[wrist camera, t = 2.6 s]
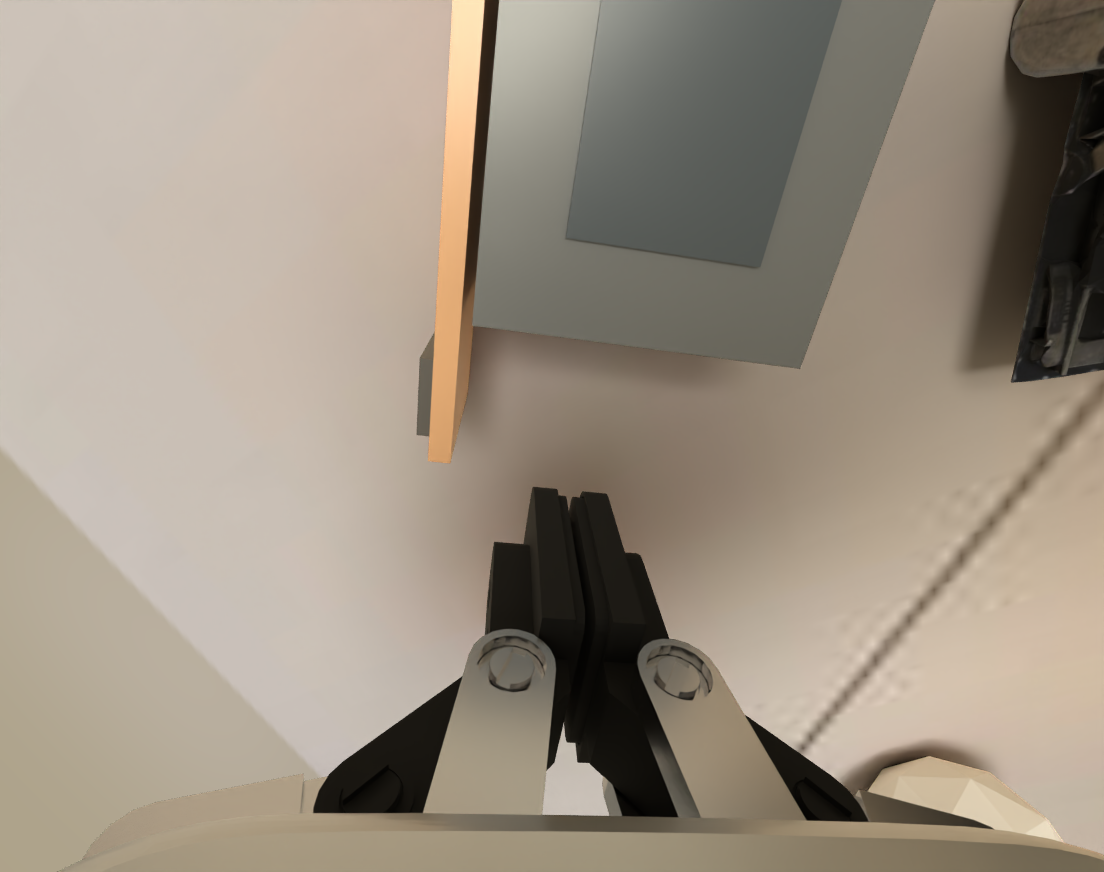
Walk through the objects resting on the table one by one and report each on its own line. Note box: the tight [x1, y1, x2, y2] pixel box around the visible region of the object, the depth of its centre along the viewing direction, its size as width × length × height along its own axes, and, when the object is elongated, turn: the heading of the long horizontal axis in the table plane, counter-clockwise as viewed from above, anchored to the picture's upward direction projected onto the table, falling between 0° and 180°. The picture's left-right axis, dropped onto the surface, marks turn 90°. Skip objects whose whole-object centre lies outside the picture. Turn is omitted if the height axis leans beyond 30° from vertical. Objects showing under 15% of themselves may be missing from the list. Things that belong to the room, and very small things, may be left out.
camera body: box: [472, 0, 935, 369], centre depth 17 cm, size 16×11×8 cm
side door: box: [417, 0, 499, 463], centre depth 18 cm, size 20×2×7 cm, turn 172°
